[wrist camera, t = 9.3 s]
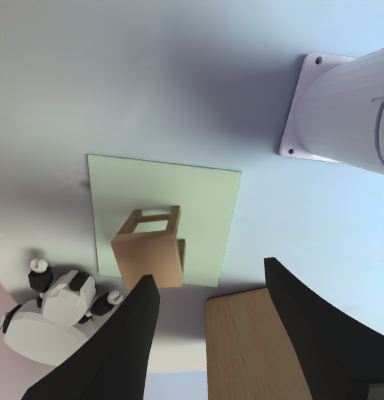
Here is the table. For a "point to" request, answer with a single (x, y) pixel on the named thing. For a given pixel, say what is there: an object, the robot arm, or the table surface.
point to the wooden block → (250, 350)
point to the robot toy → (55, 315)
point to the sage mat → (165, 209)
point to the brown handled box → (150, 251)
